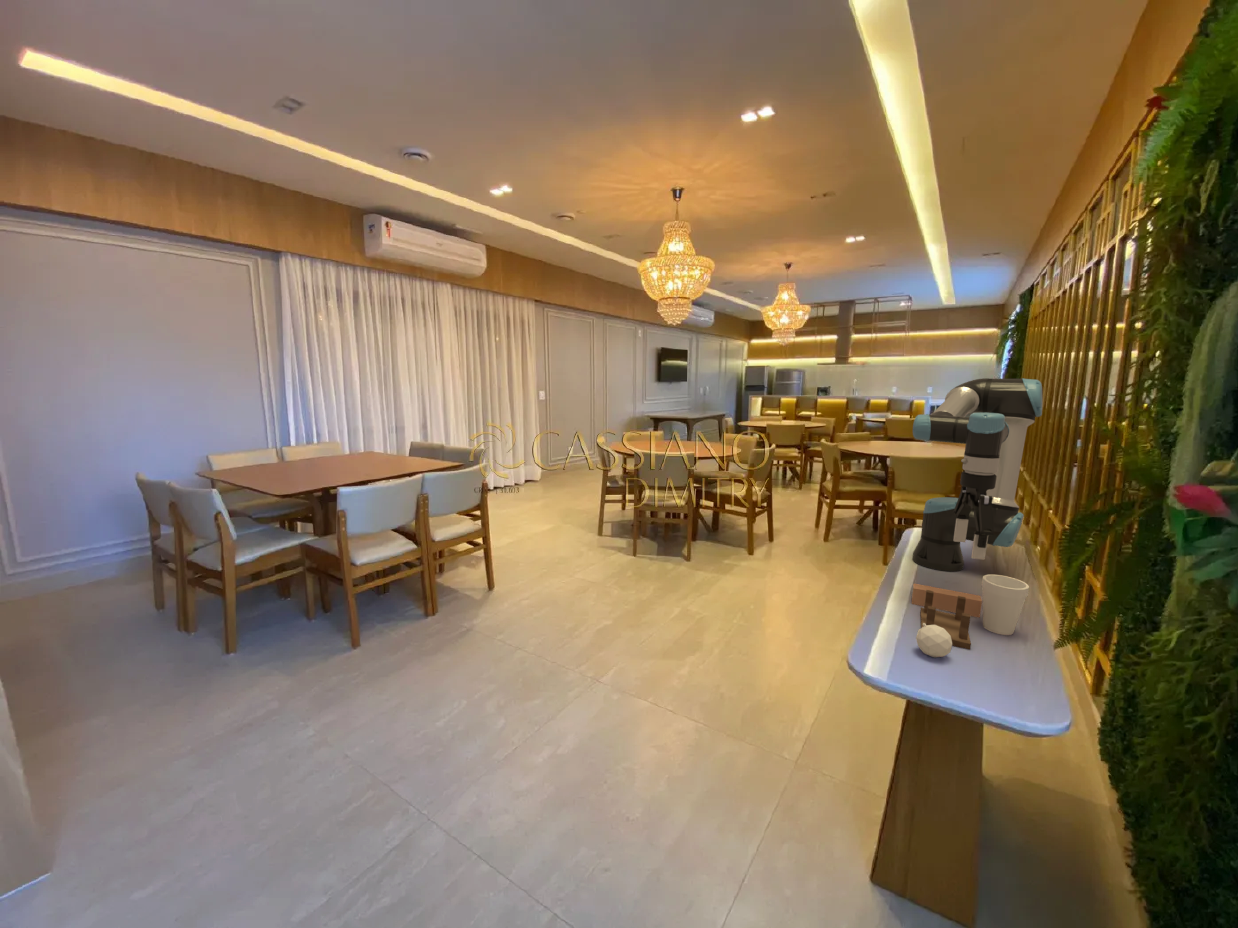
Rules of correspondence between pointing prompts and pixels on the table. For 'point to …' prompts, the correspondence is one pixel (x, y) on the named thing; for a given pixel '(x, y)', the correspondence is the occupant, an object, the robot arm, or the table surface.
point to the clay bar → (947, 599)
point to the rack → (948, 620)
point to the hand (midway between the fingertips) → (968, 549)
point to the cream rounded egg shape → (934, 640)
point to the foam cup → (1002, 603)
